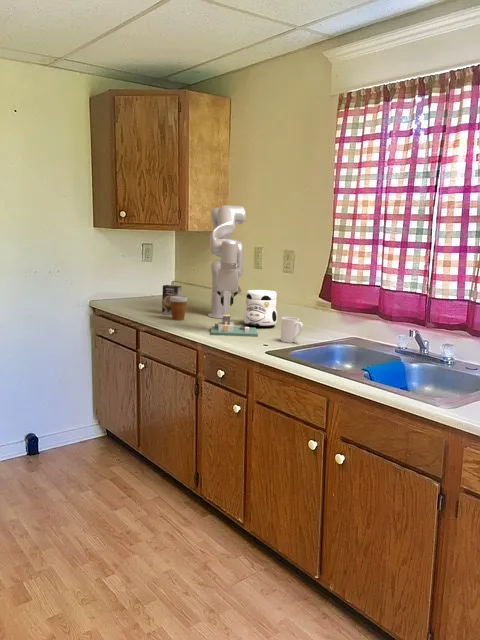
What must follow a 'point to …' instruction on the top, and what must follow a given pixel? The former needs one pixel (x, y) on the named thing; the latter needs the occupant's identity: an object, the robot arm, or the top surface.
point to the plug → (226, 319)
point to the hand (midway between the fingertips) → (226, 304)
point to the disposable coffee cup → (178, 307)
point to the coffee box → (167, 293)
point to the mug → (290, 329)
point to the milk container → (260, 308)
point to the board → (232, 330)
